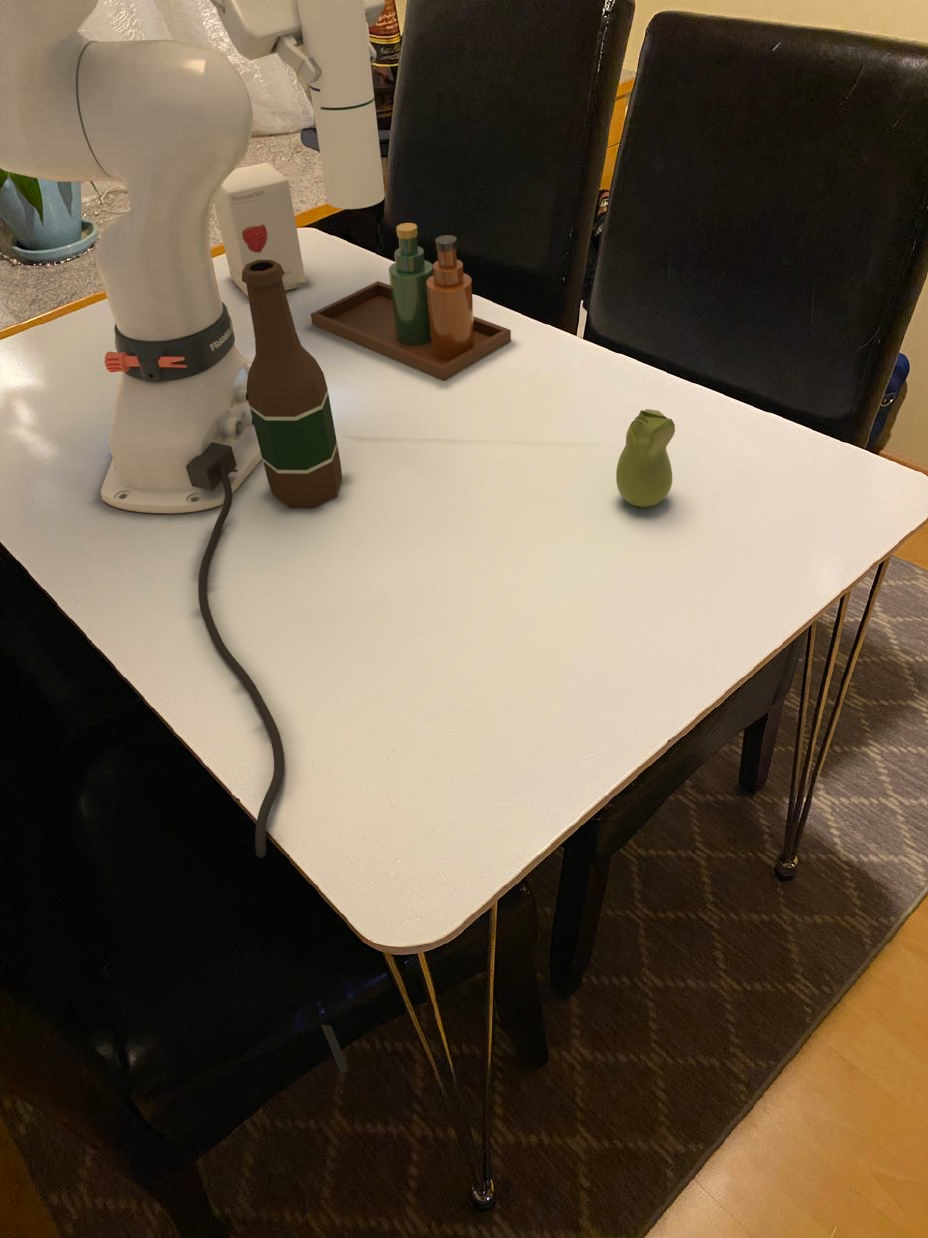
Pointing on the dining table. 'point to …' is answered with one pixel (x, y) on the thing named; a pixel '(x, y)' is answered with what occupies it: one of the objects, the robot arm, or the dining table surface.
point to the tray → (374, 328)
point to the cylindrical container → (343, 101)
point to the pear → (646, 460)
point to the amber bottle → (450, 303)
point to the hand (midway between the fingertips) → (344, 69)
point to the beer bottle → (288, 398)
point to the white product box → (259, 223)
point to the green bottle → (410, 288)
